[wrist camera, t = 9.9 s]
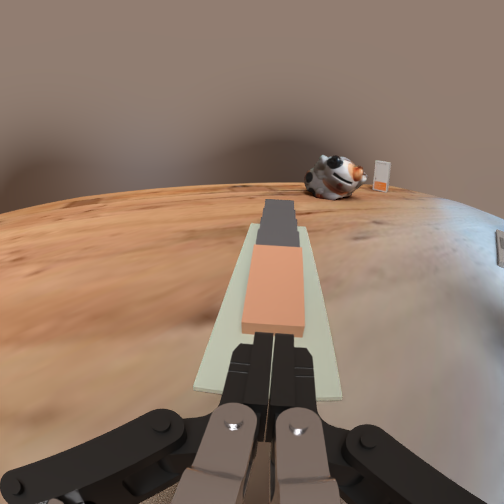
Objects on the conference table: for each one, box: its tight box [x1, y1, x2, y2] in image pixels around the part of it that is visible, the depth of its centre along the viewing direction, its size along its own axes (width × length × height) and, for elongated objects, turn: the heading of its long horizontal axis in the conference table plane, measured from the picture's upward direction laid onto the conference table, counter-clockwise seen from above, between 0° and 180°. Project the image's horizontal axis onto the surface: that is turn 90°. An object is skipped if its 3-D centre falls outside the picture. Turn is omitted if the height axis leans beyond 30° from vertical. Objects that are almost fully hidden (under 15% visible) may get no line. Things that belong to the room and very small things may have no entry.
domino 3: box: [260, 217, 297, 231], centre depth 36 cm, size 2×5×10 cm
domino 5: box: [241, 244, 305, 338], centre depth 26 cm, size 2×5×10 cm
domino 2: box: [262, 208, 296, 219], centre depth 42 cm, size 2×5×10 cm
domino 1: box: [265, 199, 294, 210], centre depth 47 cm, size 2×5×10 cm
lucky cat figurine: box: [304, 155, 367, 200], centre depth 80 cm, size 17×14×16 cm
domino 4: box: [256, 229, 300, 247], centre depth 31 cm, size 2×5×10 cm
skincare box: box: [373, 160, 391, 193], centre depth 102 cm, size 6×4×12 cm
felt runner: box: [193, 223, 342, 401], centre depth 35 cm, size 38×10×1 cm, turn 174°
